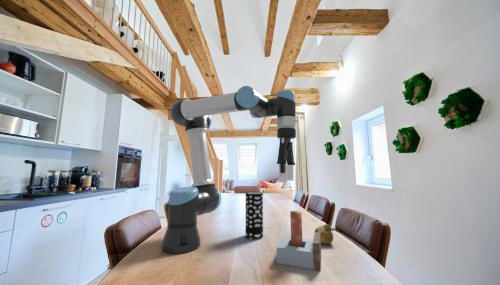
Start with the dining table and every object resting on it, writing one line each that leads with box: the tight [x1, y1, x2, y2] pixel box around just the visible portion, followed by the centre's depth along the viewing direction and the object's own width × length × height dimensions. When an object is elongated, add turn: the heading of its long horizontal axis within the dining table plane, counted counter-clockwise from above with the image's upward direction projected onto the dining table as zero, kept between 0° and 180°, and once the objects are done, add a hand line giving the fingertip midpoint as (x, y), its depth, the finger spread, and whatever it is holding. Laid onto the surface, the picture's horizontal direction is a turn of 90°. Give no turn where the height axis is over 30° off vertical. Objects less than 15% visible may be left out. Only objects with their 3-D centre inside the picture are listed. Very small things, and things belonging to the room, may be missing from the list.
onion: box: [314, 223, 337, 245], centre depth 87 cm, size 8×8×8 cm
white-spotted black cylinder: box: [245, 191, 264, 241], centre depth 96 cm, size 8×8×20 cm
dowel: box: [289, 210, 303, 248], centre depth 72 cm, size 4×4×16 cm
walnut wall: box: [312, 231, 322, 272], centre depth 69 cm, size 2×12×8 cm, turn 159°
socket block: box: [275, 236, 314, 270], centre depth 71 cm, size 12×12×5 cm
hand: (286, 181), depth 79 cm, fingers open, 13 cm apart
